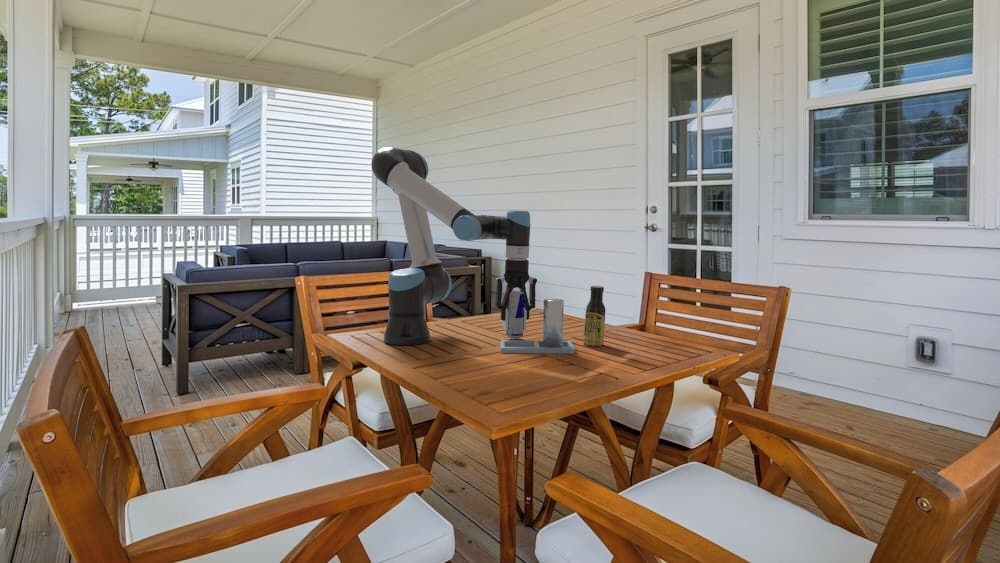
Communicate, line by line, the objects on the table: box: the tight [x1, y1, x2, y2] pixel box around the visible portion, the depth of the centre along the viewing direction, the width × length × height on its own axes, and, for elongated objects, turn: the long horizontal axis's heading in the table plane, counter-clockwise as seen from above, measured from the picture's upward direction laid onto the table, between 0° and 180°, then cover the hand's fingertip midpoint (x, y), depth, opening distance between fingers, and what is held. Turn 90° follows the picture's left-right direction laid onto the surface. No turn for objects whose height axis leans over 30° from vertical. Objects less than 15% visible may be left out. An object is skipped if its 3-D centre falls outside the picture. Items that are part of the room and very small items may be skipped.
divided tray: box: [499, 339, 576, 354], centre depth 166 cm, size 22×10×3 cm, turn 91°
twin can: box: [542, 298, 565, 348], centre depth 165 cm, size 6×6×15 cm
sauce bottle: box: [583, 285, 606, 348], centre depth 171 cm, size 6×6×20 cm
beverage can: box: [505, 290, 525, 339], centre depth 177 cm, size 6×6×15 cm
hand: (514, 329), depth 178 cm, fingers closed on beverage can, 5 cm apart
